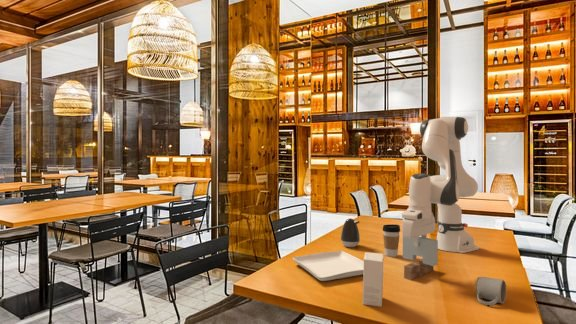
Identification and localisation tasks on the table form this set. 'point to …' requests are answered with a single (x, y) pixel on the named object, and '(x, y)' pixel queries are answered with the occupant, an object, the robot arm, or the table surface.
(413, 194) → the robot arm
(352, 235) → the pump dispenser
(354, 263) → the square plate
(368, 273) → the skincare box
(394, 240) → the coffee cup
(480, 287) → the ceramic mug
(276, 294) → the table surface
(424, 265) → the walnut rail
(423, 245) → the grey flat block
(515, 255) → the table surface
